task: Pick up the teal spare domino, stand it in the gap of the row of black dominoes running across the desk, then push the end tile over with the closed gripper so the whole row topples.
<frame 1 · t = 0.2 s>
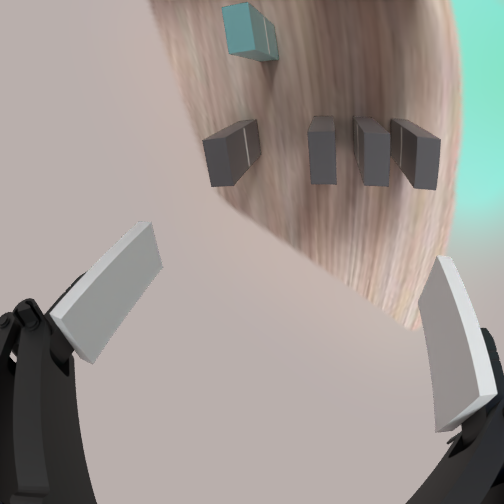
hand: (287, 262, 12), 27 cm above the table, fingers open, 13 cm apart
domino 5: (399, 137, 30), on the table
domino 4: (362, 135, 31), on the table
domino 3: (324, 134, 33), on the table
domino 1: (250, 137, 36), on the table
spare domino: (267, 43, 27), on the table
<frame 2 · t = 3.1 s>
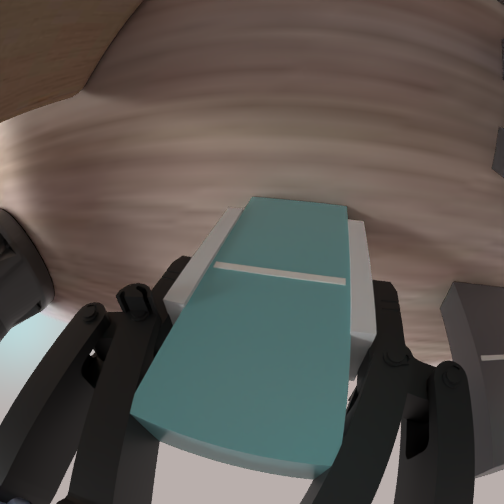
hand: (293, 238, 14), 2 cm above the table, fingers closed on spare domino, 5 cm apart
block: (85, 6, 9), on the table
domino 1: (473, 298, 14), on the table
spare domino: (298, 220, 15), on the table, touching gripper
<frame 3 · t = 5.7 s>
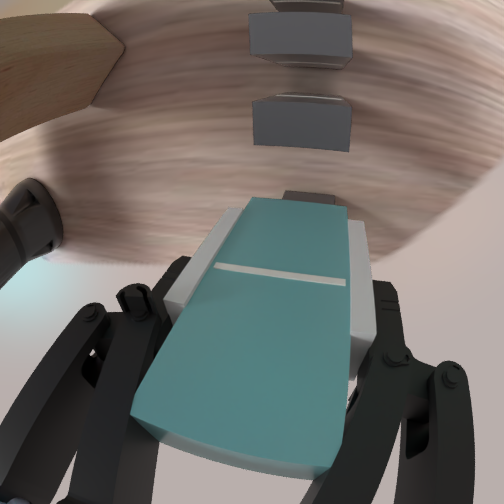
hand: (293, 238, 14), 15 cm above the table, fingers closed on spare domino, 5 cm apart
domino 5: (311, 7, 17), on the table
domino 4: (313, 55, 19), on the table
block: (89, 58, 23), on the table
domino 3: (313, 106, 22), on the table
domino 1: (309, 203, 28), on the table
spare domino: (298, 221, 15), point 13 cm above the table, touching gripper
when the fingers open (2 cm above the table, at t = 8.1 s): spare domino stays where it is, on the table.
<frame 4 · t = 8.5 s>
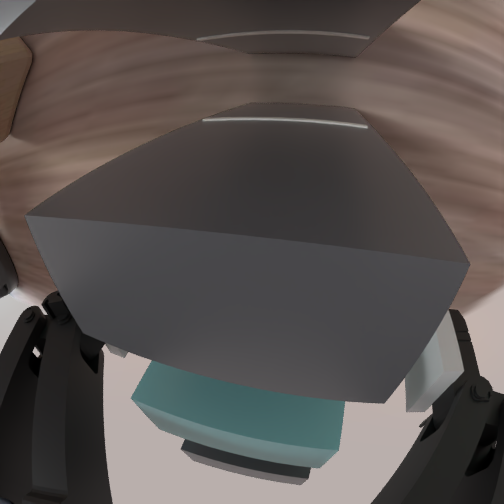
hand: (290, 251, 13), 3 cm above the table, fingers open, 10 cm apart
domino 4: (300, 30, 9), on the table
block: (6, 74, 13), on the table
domino 3: (301, 127, 12), on the table
domino 1: (294, 285, 18), on the table
spare domino: (298, 217, 15), on the table
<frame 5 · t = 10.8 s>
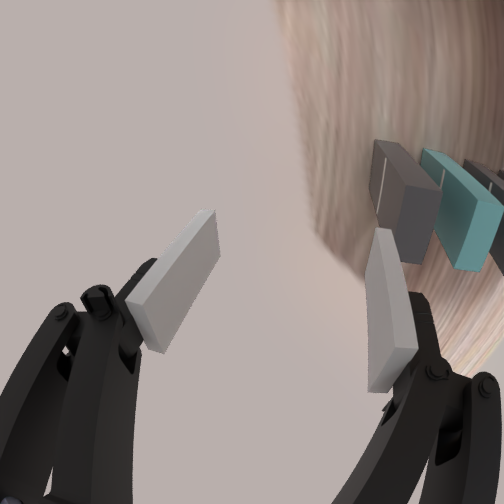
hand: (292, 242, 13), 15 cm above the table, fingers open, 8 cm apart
domino 3: (469, 183, 21), on the table
domino 1: (383, 166, 24), on the table
spare domino: (429, 174, 22), on the table
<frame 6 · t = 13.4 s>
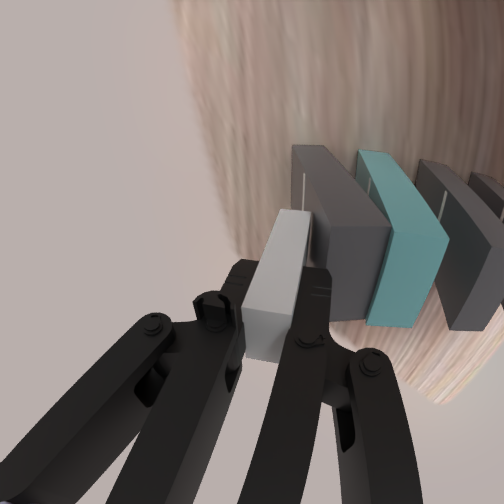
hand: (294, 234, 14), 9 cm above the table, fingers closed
domino 4: (475, 201, 17), on the table
domino 3: (427, 191, 19), on the table
domino 1: (307, 176, 21), on the table, tilted 14°, touching gripper
spare domino: (370, 181, 20), on the table
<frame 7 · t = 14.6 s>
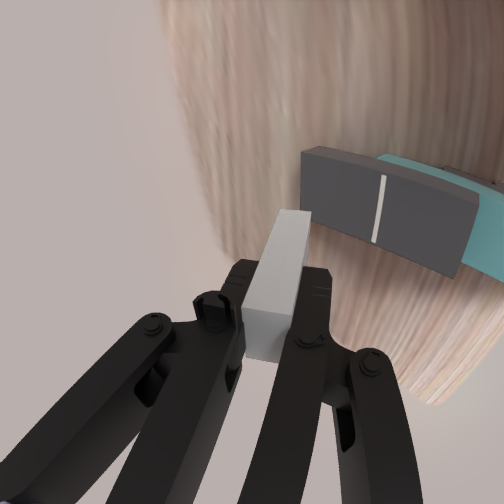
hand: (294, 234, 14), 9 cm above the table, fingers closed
domino 3: (437, 198, 18), point 1 cm above the table, tilted 60°, touching domino 4, spare domino
domino 1: (309, 181, 20), point 1 cm above the table, tilted 61°, touching spare domino
spare domino: (377, 187, 19), point 1 cm above the table, tilted 61°, touching domino 1, domino 3
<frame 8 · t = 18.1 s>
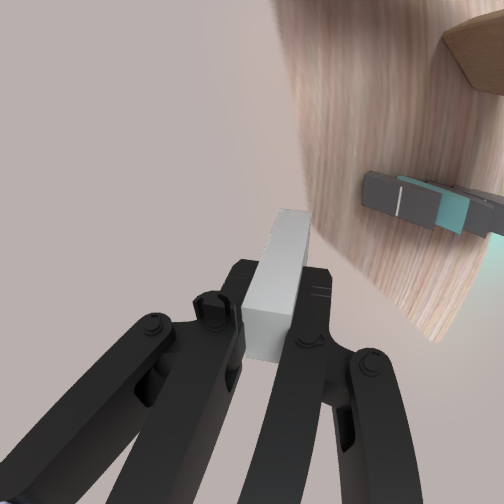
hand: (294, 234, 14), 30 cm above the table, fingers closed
domino 4: (451, 201, 36), point 1 cm above the table, tilted 61°, touching domino 3, domino 5
block: (475, 52, 22), on the table
domino 3: (424, 196, 37), point 1 cm above the table, tilted 61°, touching domino 4, spare domino
domino 1: (365, 187, 40), point 1 cm above the table, tilted 61°, touching spare domino
spare domino: (396, 191, 39), point 1 cm above the table, tilted 61°, touching domino 1, domino 3
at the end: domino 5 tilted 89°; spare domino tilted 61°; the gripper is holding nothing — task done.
